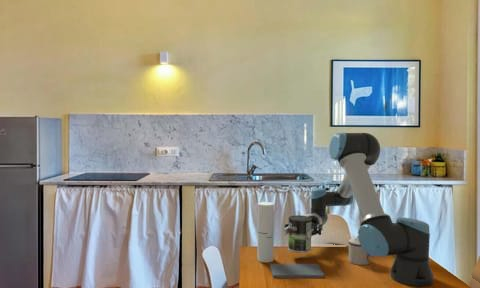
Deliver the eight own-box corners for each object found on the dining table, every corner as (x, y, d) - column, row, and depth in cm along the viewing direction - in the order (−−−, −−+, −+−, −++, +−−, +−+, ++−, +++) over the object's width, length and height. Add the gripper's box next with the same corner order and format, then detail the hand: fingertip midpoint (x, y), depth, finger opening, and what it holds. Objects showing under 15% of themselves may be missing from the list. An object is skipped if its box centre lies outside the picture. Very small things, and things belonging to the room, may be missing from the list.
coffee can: (296, 254, 159) (296, 221, 159) (283, 247, 169) (284, 216, 168) (316, 251, 163) (316, 219, 163) (303, 244, 173) (303, 214, 172)
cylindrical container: (258, 256, 168) (258, 201, 167) (273, 257, 167) (274, 202, 166) (256, 261, 161) (257, 204, 160) (273, 262, 160) (273, 205, 159)
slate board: (317, 266, 156) (317, 263, 156) (324, 277, 144) (324, 275, 144) (270, 266, 156) (270, 263, 156) (273, 277, 144) (273, 275, 144)
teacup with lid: (372, 266, 157) (372, 239, 157) (350, 265, 158) (350, 238, 158) (365, 256, 169) (366, 231, 168) (345, 255, 170) (345, 230, 170)
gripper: (335, 233, 176) (321, 245, 157) (290, 227, 187) (272, 238, 167) (335, 217, 176) (321, 228, 156) (290, 212, 187) (272, 221, 167)
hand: (296, 233), depth 162 cm, fingers closed on coffee can, 10 cm apart
